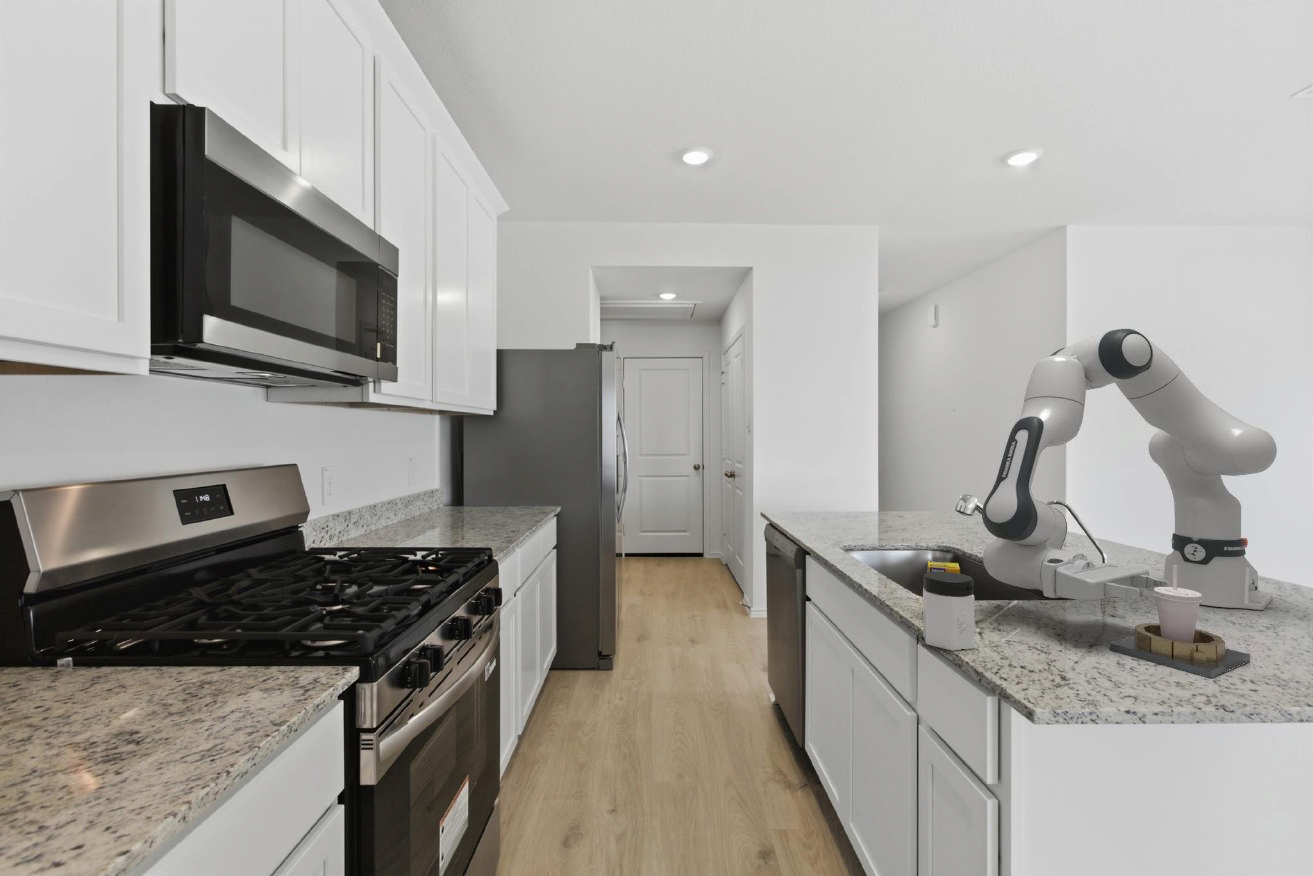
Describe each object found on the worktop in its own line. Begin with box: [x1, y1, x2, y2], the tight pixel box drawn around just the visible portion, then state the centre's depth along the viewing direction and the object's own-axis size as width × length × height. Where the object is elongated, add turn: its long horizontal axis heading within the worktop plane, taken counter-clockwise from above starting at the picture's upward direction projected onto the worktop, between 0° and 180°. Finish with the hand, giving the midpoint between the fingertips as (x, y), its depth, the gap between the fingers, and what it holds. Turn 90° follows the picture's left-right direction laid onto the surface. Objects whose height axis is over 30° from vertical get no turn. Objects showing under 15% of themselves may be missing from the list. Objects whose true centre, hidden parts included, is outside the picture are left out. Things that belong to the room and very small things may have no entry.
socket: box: [1108, 622, 1251, 679], centre depth 105 cm, size 14×14×4 cm
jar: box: [922, 572, 976, 652], centre depth 111 cm, size 9×8×12 cm
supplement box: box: [926, 560, 961, 574], centre depth 126 cm, size 6×6×11 cm
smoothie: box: [1152, 565, 1203, 643], centre depth 104 cm, size 6×6×14 cm
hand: (1154, 590), depth 107 cm, fingers open, 8 cm apart
